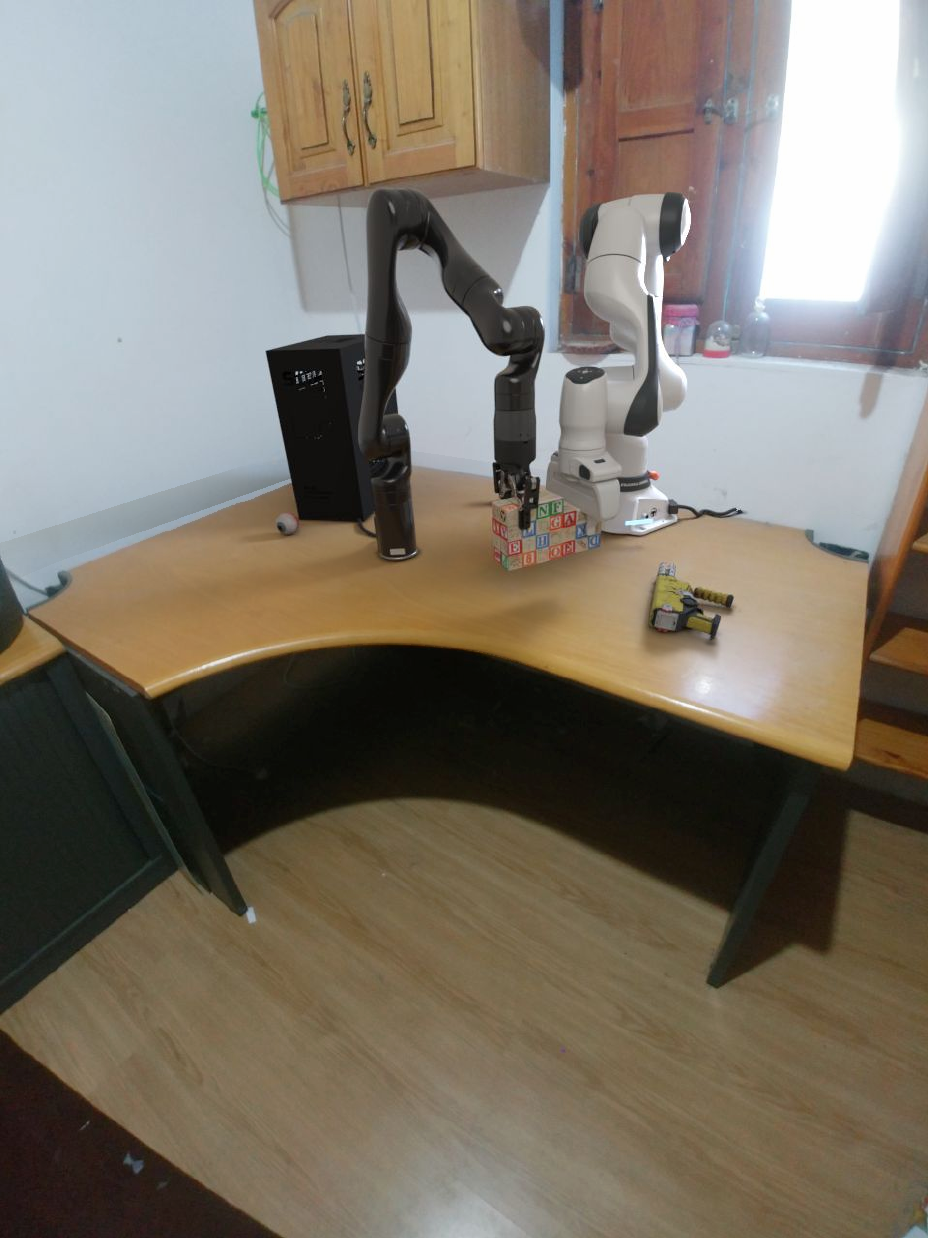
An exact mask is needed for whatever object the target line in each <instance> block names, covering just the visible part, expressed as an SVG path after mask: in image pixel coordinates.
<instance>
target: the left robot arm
mask: <svg viewBox="0 0 928 1238" xmlns="http://www.w3.org/2000/svg"><path fill="white" fill-rule="evenodd" d="M365 248H366V250H365V251H366V272H367V273H366V275H367V277H366V279H367V280H366V282H367V283H366V284H367V285H366V286H367V288H366V316H365V329H364V334H365V345H364V360H363V363H364V374H363V375H364V376H363V390H362V398H361V405H360V411H359V418H358V426H357V441H358V447H359V450H360V452H361V454H362V456H363V457H364V458H365V459H366V460H369V461H373V462H375V461H379V460H383V459H386V460H385V462H384V464H383V465H382V466H381V467H380V468H379V469H378V470H377V471H376V472H375V473H373V474H372V476H371V488H372V495H373V503H374V510H375V511H374V516H373V521H374V529H375V533H373V532H372V531H370V530H368V529H367V528H365V527H364V525H363V521H361V519H360V518H358V519H357V520H358V521H357V523H358V526H359V528H360V530H361V531H362V532H363V533H365V534H367V535H368V536H370V537H373V538H375V539H376V544H377V545H376V546H377V551H378V553H379V557H380V558H381V559H383V560H386V561H392V562H394V561H395V562H396V561H397V562H398V561H399V562H400V561H407V560H409V559H411V558H414V557H415V556H416V555H417V554H418V552H419V551H418V545H417V535H416V524H415V523H416V522H415V513H414V512H415V511H414V503H413V493H412V483H411V478H412V472H413V464H412V444H411V443H412V442H411V435H410V429H409V425H408V424H407V422H406V419H405V418H404V417H403V416H402V415H401V414H399V413H398V414H396V413H393V414H387V415H384V414H385V409H386V405H387V402H388V400H389V398H390V396H391V394H392V392H393V391H394V389H395V388H396V389H397V386H398V385H399V383H400V381H401V380H402V377H403V376H404V375H405V372H406V370H407V369H408V365H409V364H410V363H409V362H410V359H411V349H412V338H413V325H412V320H411V318H410V315H409V313H408V310H407V307H406V305H405V304H404V301H403V299H402V297H401V294H400V291H399V288H398V283H397V259H398V253H399V251H401V252H403V251H413V250H418V251H420V252H422V253H424V255H426V256H427V257H429V258H430V259H431V260H432V261H433V262H434V263H435V264H436V267H437V271H438V275H439V280H440V283H441V287H442V289H443V290H444V292H445V293H446V295H447V296H448V297H449V299H450V300H451V301H452V302H453V304H455V305H456V306H457V307H458V308H459V309H460V310H461V311H462V312H463V314H464V315H466V317H468V318H469V321H470V323H471V325H472V327H473V329H474V330H475V332H476V334H477V336H478V338H479V340H480V342H481V343H482V345H483V347H484V348H485V349H487V350H488V351H489V352H490V353H492V354H493V355H495V356H497V357H504V358H505V357H508V362H507V365H506V366H505V368H503V370H501V371H499V372H498V373H496V374H495V377H494V381H493V398H494V399H493V400H494V409H493V411H494V413H493V421H492V422H493V423H492V426H493V459H494V461H493V462H492V464H491V465H492V477H493V488H494V489H493V491H494V493H495V494H498V498H499V500H503V499H508V498H510V497H512V496H513V497H514V499H516V500H517V504H518V508H519V510H518V527H519V529H521V530H524V529H529V528H530V526H531V509H537V508H538V504H539V491H541V490H540V489H541V478H540V476H532V472H531V468H530V467H531V466H530V465H531V463H533V462H534V461H535V460H536V458H537V414H536V379H537V375H538V372H539V370H540V363H541V359H542V355H543V350H544V345H545V341H546V340H545V339H546V327H545V322H544V319H543V316H542V315H541V313H540V312H539V310H538V309H536V308H535V307H534V306H531V305H520V306H513V307H511V306H510V307H505V306H503V304H504V300H505V299H504V298H505V295H504V291H503V289H502V287H501V285H500V284H499V282H498V281H496V280H495V278H493V276H491V275H490V274H489V272H488V271H486V270H485V269H484V268H483V267H482V266H481V265H480V264H479V263H478V262H477V261H476V260H475V259H474V258H473V257H472V256H471V255H470V254H469V253H468V251H467V250H466V249H465V248H464V247H463V245H462V244H461V242H460V240H458V238H457V237H456V235H455V233H453V231H452V230H451V228H450V227H449V225H448V224H447V222H445V219H444V218H443V216H442V215H441V214H440V213H439V211H438V209H437V208H436V207H435V205H434V204H433V203H432V201H431V200H430V199H429V197H428V196H426V194H425V193H424V192H422V191H421V190H419V189H417V188H411V187H379V188H376V189H375V190H373V191H372V193H371V194H370V195H369V198H368V201H367V206H366V212H365ZM519 491H521V493H519ZM523 497H524V503H523V502H522V498H523ZM532 498H533V502H532Z"/></svg>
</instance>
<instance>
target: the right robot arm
mask: <svg viewBox="0 0 928 1238" xmlns="http://www.w3.org/2000/svg"><path fill="white" fill-rule="evenodd" d="M690 226H691V211H690V207H689V202H688V199H687V198H686V196H685V195H684V194H683V193H681V192H673V191H666V192H665V193H646V194H644V193H643V194H635V195H632V196H629V197H624V198H618V199H615V200H611V201H608V202H598V203H595V204H593V205H591V206H588V207H587V208H586V209H585V211H584V212H583V214H582V215H581V216H580V220H579V226H578V231H577V232H578V233H577V234H578V236H577V239H578V246H579V250H580V253H581V255H582V256H583V258H585V259H586V265H585V272H584V281H583V297H584V301H585V302H586V305H587V306H588V308H589V309H590V311H591V312H592V313H593V314H594V315H595V316H597V317H598V318H599V319H600V320H602V321H605V322H607V323H609V336H610V339H611V341H612V343H614V344H615V345H616V346H618V347H619V348H621V349H623V350H624V351H627V352H629V353H631V354H632V355H633V357H634V364H631V365H617V366H615V365H614V366H601V367H598V366H592V365H591V366H589V365H588V366H587V365H586V366H579V367H575V368H573V369H571V370H569V371H567V372H566V373H565V374H564V376H563V379H562V385H561V391H560V398H559V410H558V424H559V428H560V436H559V439H558V442H557V443H558V444H557V445H558V447H557V450H554V452H553V453H552V454H551V456H550V462H548V465H547V470H546V477H545V479H546V480H545V490H548V491H550V492H552V493H554V494H556V495H558V496H561V497H563V498H564V501H565V502H567V503H569V504H571V505H573V506H575V507H577V508H579V509H580V510H581V512H583V513H585V514H586V515H587V519H588V522H587V525H583V529H584V530H583V533H585V534H586V535H588V536H590V535H593V534H594V533H595V526H596V524H597V523H598V521H600V522H602V527H601V532H605V533H611V534H623V535H625V534H626V535H632V536H633V535H634V536H645V535H646V534H650V533H652V532H654V531H657V530H660V529H662V528H665V527H668V526H670V525H672V524H675V523H677V522H678V516H677V515H678V514H679V509H681V510H688V511H690V512H691V513H692V514H693V515H694V516H696V517H702V515H703V514H710V515H712V516H715V517H723V516H728V515H730V514H731V513H734V512H736V513H738V514H744V512H743V510H742V509H740V510H738V511H736V510H737V509H736V508H737V507H732V508H729V509H727V510H725V511H719V512H718V511H714V510H711V509H708V508H707V509H706V508H704V509H700V510H699V511H697V509H696V508H694V507H692V506H689V505H687V504H686V505H685V504H679V503H678V502H677V501H676V500H674V499H671V498H668V497H667V496H666V495H665V494H664V493H663V492H661V491H660V490H659V489H658V488H656V487H655V486H654V485H652V483H651V480H653V481H658V479H659V478H660V473H659V472H657V471H654V470H651V471H649V470H648V469H647V466H648V458H649V457H648V456H649V447H650V443H649V440H648V437H646V436H647V435H648V434H650V433H651V432H653V431H654V430H655V429H656V428H658V426H659V425H660V423H661V420H662V417H663V413H668V412H672V411H676V410H677V409H679V408H680V407H681V405H682V404H683V402H684V400H685V399H686V396H687V393H688V387H689V386H688V380H687V376H686V374H685V372H684V370H682V369H681V367H679V366H678V365H677V364H676V363H675V362H674V360H672V358H670V356H669V354H668V352H667V351H666V348H665V346H664V342H663V339H662V338H663V337H662V306H663V292H664V265H663V262H664V263H667V262H669V260H670V257H671V256H674V254H676V253H677V252H678V251H679V250H680V249H681V248H682V246H684V244H685V241H686V238H687V235H688V233H689V230H690Z"/></svg>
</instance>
